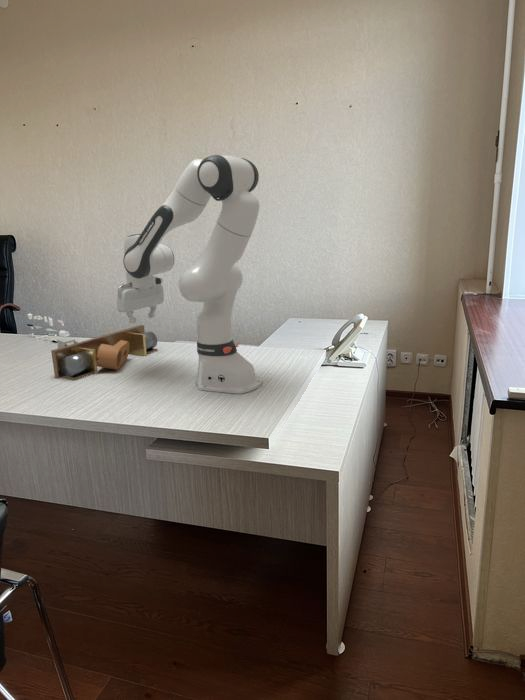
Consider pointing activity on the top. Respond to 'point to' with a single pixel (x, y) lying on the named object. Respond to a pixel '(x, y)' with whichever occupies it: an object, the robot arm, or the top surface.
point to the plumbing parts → (61, 333)
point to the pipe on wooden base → (83, 355)
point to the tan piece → (113, 355)
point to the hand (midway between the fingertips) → (142, 320)
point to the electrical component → (65, 342)
